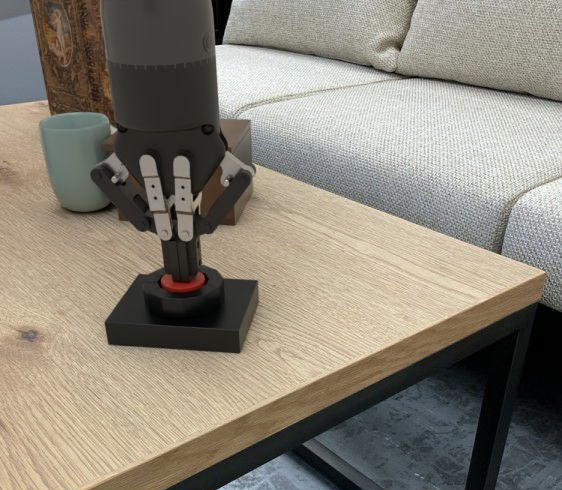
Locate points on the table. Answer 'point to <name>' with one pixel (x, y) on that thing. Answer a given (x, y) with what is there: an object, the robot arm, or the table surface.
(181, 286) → the button
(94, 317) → the table surface
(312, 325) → the table surface
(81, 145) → the cup
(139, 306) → the black button base
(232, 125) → the lid
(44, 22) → the book
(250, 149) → the chest
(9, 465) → the table surface
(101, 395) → the table surface
